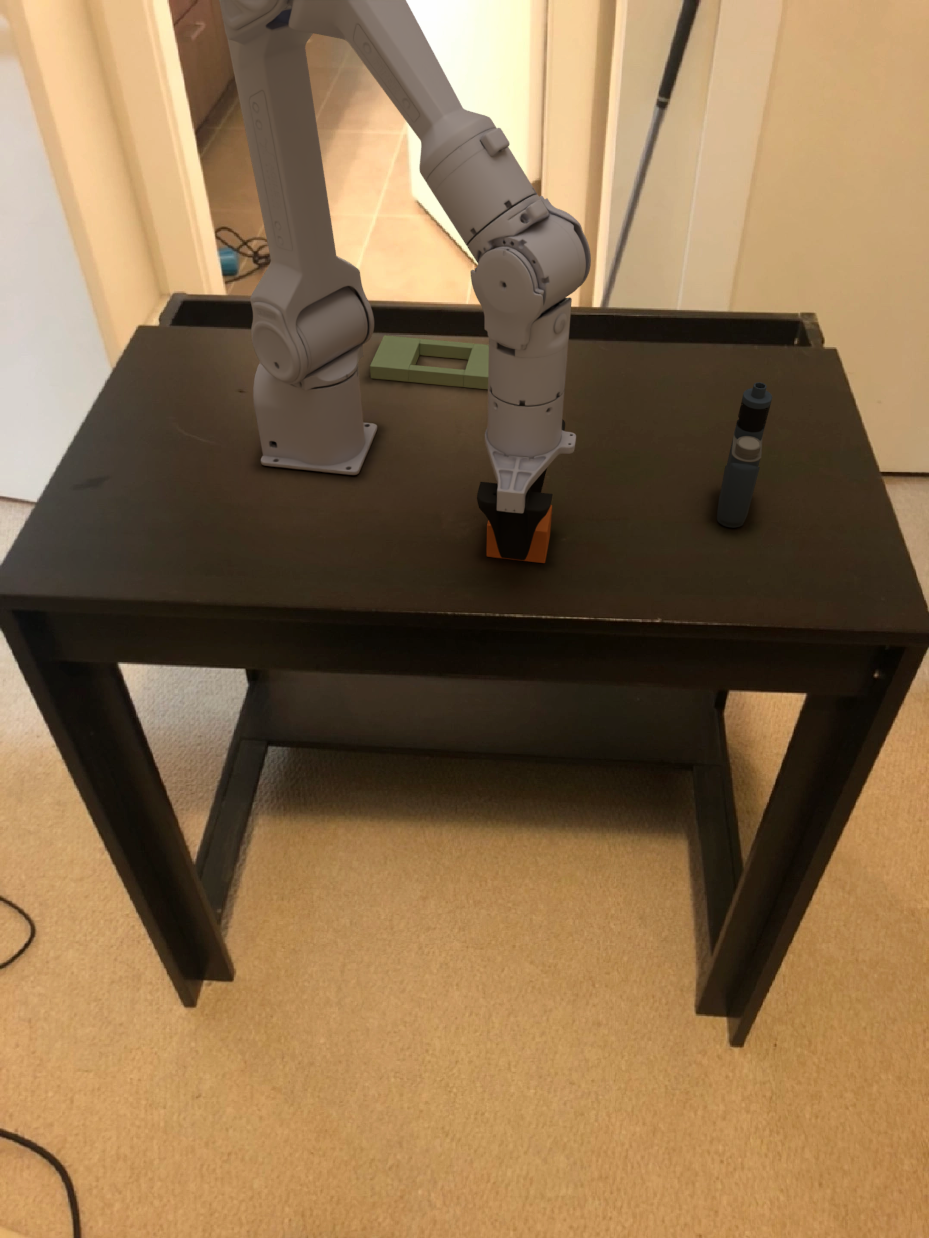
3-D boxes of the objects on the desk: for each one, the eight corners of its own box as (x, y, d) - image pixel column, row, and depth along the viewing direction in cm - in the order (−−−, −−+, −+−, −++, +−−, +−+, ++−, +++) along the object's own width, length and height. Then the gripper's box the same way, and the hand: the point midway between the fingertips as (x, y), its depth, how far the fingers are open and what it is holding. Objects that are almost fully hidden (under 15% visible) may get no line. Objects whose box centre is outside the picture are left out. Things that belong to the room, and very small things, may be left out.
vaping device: (747, 495, 89) (776, 379, 81) (744, 532, 86) (774, 414, 77) (718, 491, 90) (744, 375, 81) (714, 527, 86) (741, 410, 77)
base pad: (370, 378, 103) (369, 365, 102) (384, 347, 108) (383, 335, 106) (502, 391, 101) (502, 378, 100) (511, 359, 106) (511, 346, 105)
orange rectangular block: (486, 556, 83) (486, 525, 81) (492, 529, 86) (493, 498, 83) (544, 563, 83) (547, 532, 80) (549, 536, 85) (552, 504, 83)
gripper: (570, 447, 67) (557, 590, 77) (588, 340, 77) (575, 479, 87) (469, 437, 68) (469, 580, 78) (500, 333, 78) (497, 471, 88)
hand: (519, 526), depth 83 cm, fingers open, 7 cm apart
